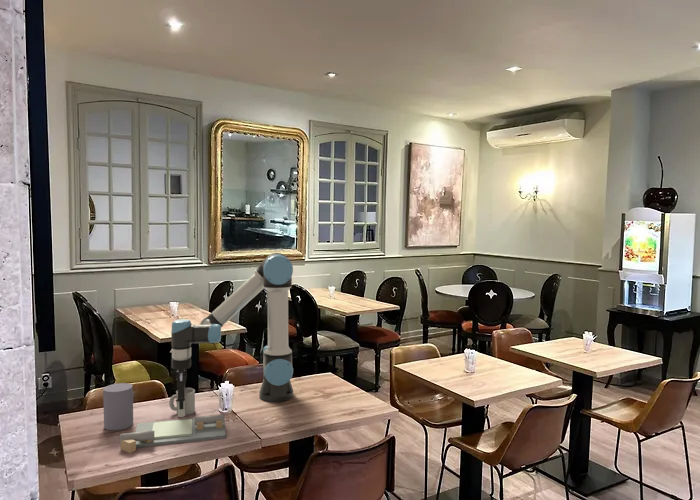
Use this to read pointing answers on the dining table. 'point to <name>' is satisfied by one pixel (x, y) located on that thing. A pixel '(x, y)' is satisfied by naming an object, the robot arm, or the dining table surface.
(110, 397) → the container
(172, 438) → the shaft rig
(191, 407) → the cup
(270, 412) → the dining table surface
